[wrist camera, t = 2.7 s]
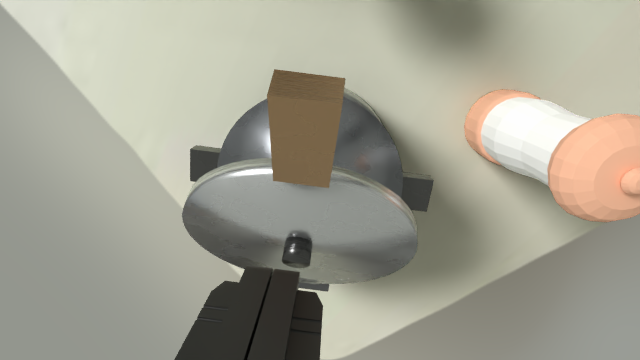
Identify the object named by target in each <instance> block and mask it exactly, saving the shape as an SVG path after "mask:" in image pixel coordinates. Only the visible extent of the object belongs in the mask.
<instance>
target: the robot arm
mask: <svg viewBox="0 0 640 360" xmlns="http://www.w3.org/2000/svg"><path fill="white" fill-rule="evenodd" d="M299 278H300V272H297V271H289V270H281V269H274V272H273V268H265V267H258V266H250V265H247V266H246V268H245V271H244V273H243V275H242V277H241V280H240V282H239V283H237V282H230V281H224V282H223V283H222V284H220V285H219V286H218V287H217V288H215V289H214V290H213V291H211V293H210V295H209V297H208V299H207V300H206V302H205V304H204V307H203V308H202V310H201V311H200V313H199V315H198V318H197V320H196V321H195V323H194V325H193V326H192V328H191V330H190V332H189V334H188V336H187V337H186V339H185V341H184V343H183V345H182V347H181V349H180V350H179V352H178V354H177V356H176V358H175V360H320V344H321V328H322V311H323V305H322V303H321V301H320V299H319V297H318V295H317V293H315V292H308V291H300V290H298V286H299Z"/></svg>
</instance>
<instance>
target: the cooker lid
mask: <svg viewBox="0 0 640 360" xmlns="http://www.w3.org/2000/svg"><path fill="white" fill-rule="evenodd" d="M344 85H345V78H338V77H330V76H322V75H314V74H306V73H299V72H291V71H283V70H275V69H274V73H273V76H272V80H271V83H270V87H269V91H268V94H267V100H268V115H269V129H270V144H271V158H262V159H250V160H244V161H239V162H233V163H230V164H227V165H224V166H220V167H218V168H216V169H214V170H212V171H209V172H208V173H206V174H205V175H203V176H202V177H200V178H199V179H198V180H197V181H196V182H195V184H194V185H193V186H192V188H191V190H190V192H189V194H188V197H187V200H186V202H185V205H184V208H183V213H182V217H183V223H184V225H185V228H186V229H187V231H188V233H189V234H190V236H191V237H192V238H193V239H194V240H195V241H196V242H197V243H198V244H199V245H201V246H202V247H203V248H204V249H206V250H207V251H209V252H210V253H212V254H213V255H215V256H217V257H218V258H220V259H222V260H224V261H226V262H228V263H230V264H233V265H235V266H238V267H240V268H243V269H245V268H246V266H247V265H250V266H258V267H265V268H273V272H274V269H281V270H289V271H297V272H300V278H299V282H301V283H308V284H316V285H319V284H344V283H355V282H362V281H368V280H373V279H377V278H380V277H384V276H386V275H389V274H391V273H394V272H396V271H397V270H399V269H401V268H403V267H404V266H405V265H406V264H408V263H409V262H410V260H411V259H412V258H413V257H414V255H415V253H416V250H417V227H416V220H415V218H414V215H413V213H412V211H411V210H410V208H409V207H408V205H407V204H406V203H405V202H404V201H403V200H402V199H401V198H400V197H399V196H398V195H396V194H395V193H394V192H392V191H391V190H390V189H389V188H387V187H385V186H383V185H382V184H380V183H378V182H377V181H375V180H373V179H370V178H368V177H366V176H364V175H362V174H359V173H356V172H353V171H350V170H348V169H345V168H341V167H337V166H334V165H333V160H334V154H335V147H336V141H337V135H338V129H339V123H340V116H341V110H342V103H343V94H344Z"/></svg>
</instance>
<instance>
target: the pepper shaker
mask: <svg viewBox="0 0 640 360" xmlns="http://www.w3.org/2000/svg"><path fill="white" fill-rule="evenodd" d="M464 128H465V136H466V139H467V141H468V143H469V145H470V146H471V147H472V148H473V149H474V150H475V151H476V152H477V153H479V154H480V155H481V156H483V157H484V158H486V159H487V160H489V161H491V162H493V163H496V164H498V165H503V166H504V167H505V168H507V169H509V170H511V171H514V172H516V173H519V174H522V175H525V176H528V177H532V178H535V179H538V180H539V181H541V182H543V183H544V184H546V185H548V186H549V188H550V190H551V192H552V194H553V196H554V198H555V200H556V202H557V203H558V204H559V205H560V206H561V207H562V208H563V209H564V210H565V211H566V212H567V213H569V214H572V215H574V216H577V217H579V218H581V219H585V220H589V221H598V222H611V221H616V220H622V219H627V218H631V217H633V216H636V215H638V214H640V117H639V116H637V115H629V114H613V115H608V116H604V117H599V118H595V119H590V118H586V117H582V116H578V115H576V114H574V113H572V112H570V111H568V110H567V109H565V108H563V107H561V106H559V105H557V104H555V103H553V102H550V101H547V100H541V99H540V98H539V97H536V96H534V95H532V94H530V93H526V92H520V91H515V90H505V89H501V90H497V91H493V92H490V93H488V94H486V95H484V96H483V97H481V98H480V99H479V100H478V101H477V102H476V103H475V104H474V105H473V106H472V107H471V109H470V111H469V113H468V115H467V117H466V121H465V126H464Z"/></svg>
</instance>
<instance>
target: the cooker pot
mask: <svg viewBox="0 0 640 360" xmlns="http://www.w3.org/2000/svg"><path fill="white" fill-rule="evenodd" d="M262 158H271V144H270V129H269V115H268V100H267V99H265V100H264V101H262V102H260V103H258V104H257V105H255V106H254V107H253V108H251V109H250V110H248V111H247V112H246V113H245V114H244V115H243V116H242V117H241V118H240V119H239V120H238V121H237V122H236V124H235V125H234V126H233V127H232V129H231V130H230V132H229V134H228V135H227V137H226V139H225V141H224V143H223V146H222V148H221V149H220V148H213V147H205V146H197V145H196V146H194V147H193V148H191V149H190V181H195V182H196V181H197V180H198V179H199V178H200V177H202V176H203V175H205V174H206V173H208V172H209V171H212V170H214V169H216V168H218V167H220V166H224V165H227V164H230V163H233V162H239V161H244V160H250V159H262ZM333 165H334V166H337V167H341V168H345V169H348V170H350V171H353V172H356V173H359V174H362V175H364V176H366V177H368V178H370V179H373V180H375V181H377V182H378V183H380V184H382V185H383V186H385V187H387V188H389V189H390V190H391V191H392V192H394V193H395V194H396V195H398V196H399V197H400V198H401V199H402V200H403V201H404V202H405V203H406V204H407V205H408V207H409V208H410V210H418V211H427V207H428V203H429V198H430V194H431V190H432V186H433V182H434V180H433V179H432V178H431V176H429V175H422V174H414V173H406V172H402V166H401V161H400V157H399V154H398V151H397V149H396V146H395V144H394V142H393V140H392V138H391V137H390V135H389V133H388V132H387V130H386V129H385V127H384V126H383V124H382V123H381V121H380V120H379V118H378V117H377V115H376V113H375V112H374V111H373V110H372V108H371V107H370V106H369V105H368V104H367V103H366V102H365V101H364V100H363V99H362V98H361V97H359V96H358V95H356V94H355V93H353V92H352V91H350V90H348V89H346V88H344V94H343V103H342V110H341V116H340V123H339V129H338V135H337V141H336V147H335V154H334V160H333ZM298 288H305V289H313V290H320V291H328V289H329V284H319V285H316V284H308V283H301V282H299V286H298Z"/></svg>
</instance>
